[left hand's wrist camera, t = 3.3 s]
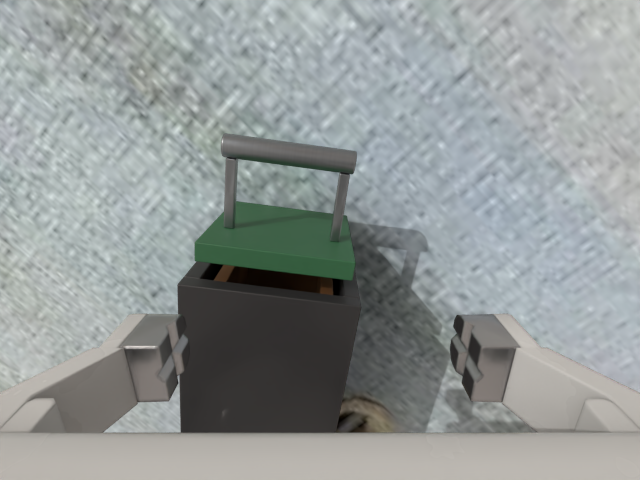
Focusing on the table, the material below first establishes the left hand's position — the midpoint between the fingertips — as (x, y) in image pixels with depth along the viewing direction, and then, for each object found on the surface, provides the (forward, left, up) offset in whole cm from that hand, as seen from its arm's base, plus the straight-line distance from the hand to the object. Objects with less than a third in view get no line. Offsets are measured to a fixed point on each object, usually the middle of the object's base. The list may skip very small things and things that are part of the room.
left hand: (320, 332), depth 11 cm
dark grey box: (+9, +10, -19) cm, 23 cm away
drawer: (+6, +6, -18) cm, 19 cm away
